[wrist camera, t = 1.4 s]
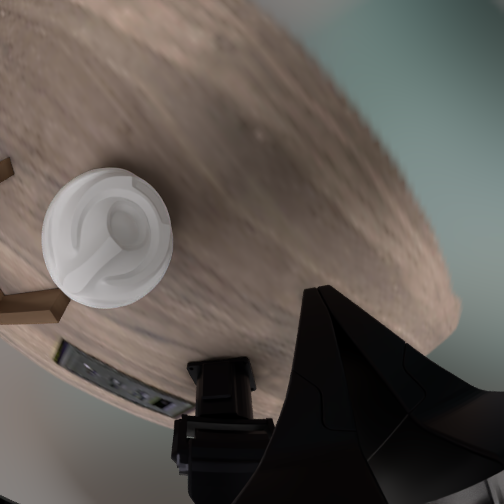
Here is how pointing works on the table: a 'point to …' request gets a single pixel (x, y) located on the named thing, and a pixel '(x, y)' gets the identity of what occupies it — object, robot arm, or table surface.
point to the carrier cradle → (30, 293)
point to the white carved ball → (107, 238)
